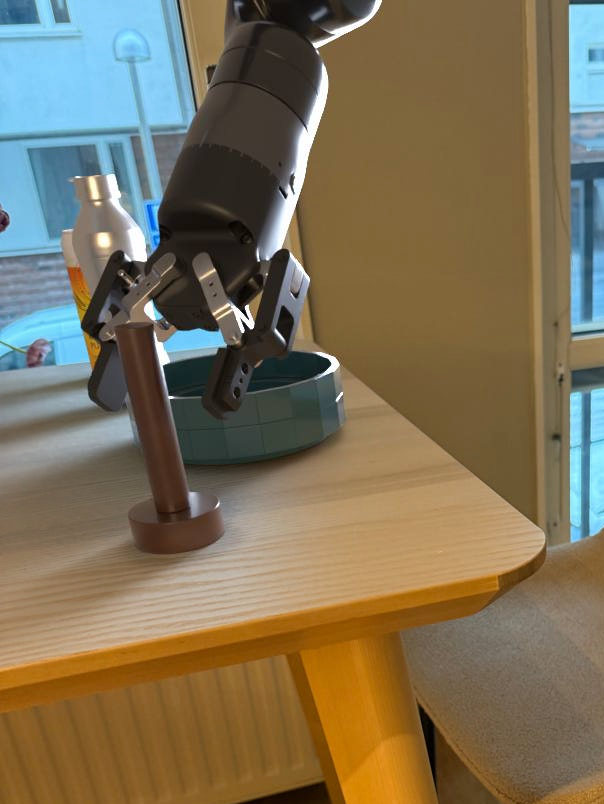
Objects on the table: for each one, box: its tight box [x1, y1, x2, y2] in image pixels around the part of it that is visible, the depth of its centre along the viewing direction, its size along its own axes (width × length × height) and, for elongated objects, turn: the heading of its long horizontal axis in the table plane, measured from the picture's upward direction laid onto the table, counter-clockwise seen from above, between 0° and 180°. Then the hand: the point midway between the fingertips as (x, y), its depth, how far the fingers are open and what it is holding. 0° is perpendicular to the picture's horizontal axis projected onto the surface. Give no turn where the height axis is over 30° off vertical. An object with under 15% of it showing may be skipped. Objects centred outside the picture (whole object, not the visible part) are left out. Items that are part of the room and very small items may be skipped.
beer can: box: [60, 228, 101, 371], centre depth 99 cm, size 6×6×15 cm
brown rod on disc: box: [114, 322, 226, 555], centre depth 56 cm, size 6×6×13 cm
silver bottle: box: [72, 174, 171, 403], centre depth 87 cm, size 6×7×20 cm
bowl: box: [125, 349, 347, 466], centre depth 77 cm, size 17×17×6 cm
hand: (157, 409), depth 56 cm, fingers open, 8 cm apart
